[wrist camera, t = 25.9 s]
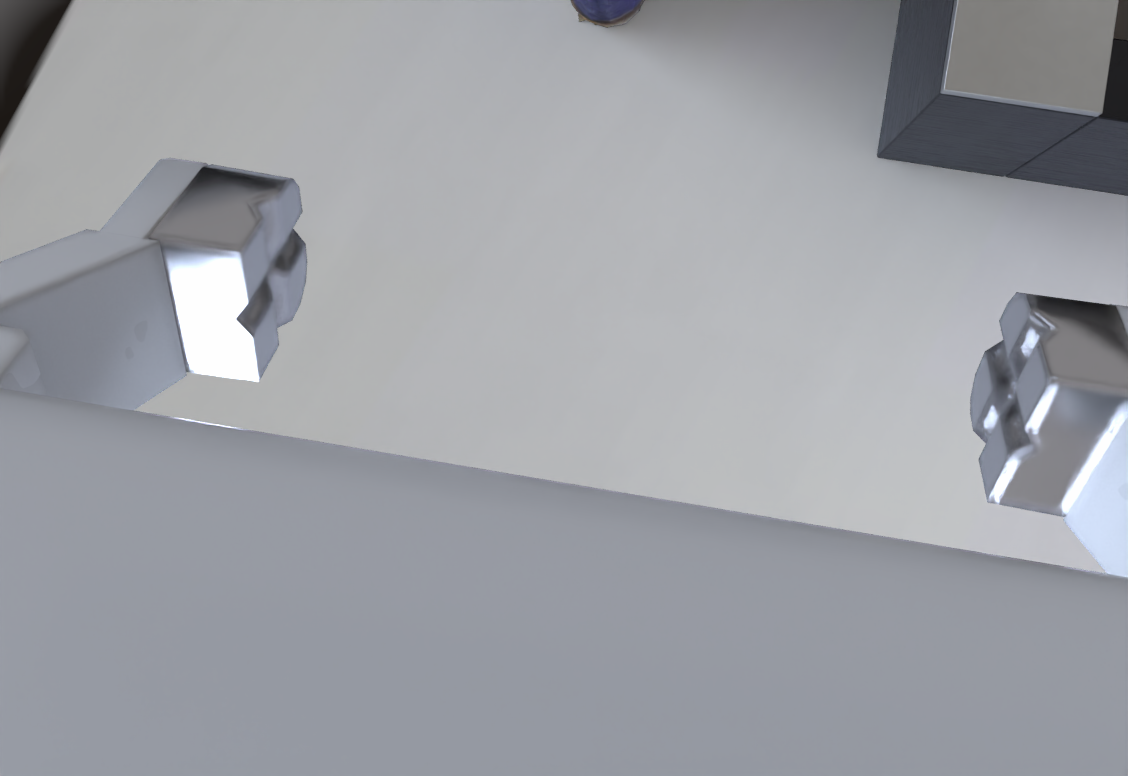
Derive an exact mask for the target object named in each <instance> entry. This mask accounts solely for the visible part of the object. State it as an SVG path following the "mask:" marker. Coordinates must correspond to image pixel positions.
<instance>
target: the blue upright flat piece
mask: <svg viewBox="0 0 1128 776" xmlns="http://www.w3.org/2000/svg"><path fill="white" fill-rule="evenodd" d="M644 1H645V0H571V2H572V4H573V7H574V8H575V9H576V10H577V12H578V16H579V22H581V21H585V20H587V21H589V22H592V23H594V24H595V25H601V26H604V27H607V28H608V27H611V26H615V25H621V24H622V25H623V24H625V23H627V22H628V20H629V19H631V18H632V17H633V16H634V15H635V14H636V13H638V12H639V11H640V7H641V4H642V3H643V2H644Z"/></svg>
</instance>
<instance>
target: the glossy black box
mask: <svg viewBox="0 0 1128 776" xmlns="http://www.w3.org/2000/svg"><path fill="white" fill-rule="evenodd" d="M1118 3H1119V0H901V4H900V11H899V17H898V24H897V30H896V37H895V43H894V50H893V56H892V62H891V69H890V75H889V82H888V88H887V95H886V101H885V108H884V114H883V120H882V127H881V133H880V140H879V146H878V153H877V157H879V158H885V159H892V160H898V161H905V162H911V163H918V164H924V165H931V166H937V167H944V168H950V169H957V170H964V171H970V172H977V173H983V174H990V175H996V176H1006V177H1010V178H1016V179H1023V180H1029V181H1036V182H1042V183H1049V184H1055V185H1062V186H1069V187H1075V188H1082V189H1088V190H1095V191H1101V192H1108V193H1114V194H1121V195H1127V196H1128V41H1127V40H1120V39H1113V38H1114V31H1115V24H1116V17H1117V10H1118Z"/></svg>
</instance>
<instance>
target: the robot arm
mask: <svg viewBox="0 0 1128 776" xmlns="http://www.w3.org/2000/svg"><path fill="white" fill-rule="evenodd" d="M301 214H302V204H301V196H300V189H299V186H298V185H297V183H296V182H295V180H294V179H292V178H287V177H281V176H275V175H270V174H264V173H258V172H253V171H247V170H241V169H236V168H230V167H224V166H219V165H213V164H211V165H208V164H206V163H202V162H195V161H189V160H182V159H175V158H166V159H161V160H159V161H158V162H157V163H156V165H155V166H154V167H153V168H152V169H151V171H150V172H149V173H148V174H147V175H146V177H145V178H144V179H143V180H142V181H141V182H140V184H139V185H138V186H137V187H136V188H135V190H134V191H133V192H132V193H131V194H130V196H129V197H128V198H127V199H126V200H125V202H124V203H123V204H122V205H121V206H120V207H119V209H118V210H117V211H116V212H115V213H114V215H113V216H112V217H111V218H110V219H109V221H108V222H107V223H106V224H105V225H104V227H103V228H102V229H101V230H100V231H94V230H88V229H86V230H84V231H81V232H78V233H76V234H73V235H70V236H68V237H65V238H63V239H60V240H57V241H55V242H52V243H49V244H47V245H44V246H41V247H39V248H36V249H33V250H31V251H28V252H25V253H23V254H20V255H17V256H15V257H12V258H9V259H7V260H4V261H2V262H0V776H1128V306H1120V305H1112V304H1109V305H1106V304H1099V303H1092V302H1084V301H1077V300H1070V299H1062V298H1055V297H1048V296H1040V295H1033V294H1026V293H1019V292H1016V294H1015V295H1014V296H1013V297H1012V299H1011V300H1010V301H1009V302H1008V304H1007V306H1006V308H1005V310H1004V312H1003V314H1002V316H1001V318H1000V320H999V322H1000V327H1001V331H1002V335H1003V341H1001V342H999V343H998V344H996V345H995V346H993V347H991V348H990V349H988V350H987V351H985V353H984V355H983V357H982V360H981V362H980V364H979V367H978V369H977V372H976V374H975V378H974V383H973V388H972V393H971V399H970V415H971V421H972V427H973V431H974V432H975V433H976V434H977V435H978V436H979V437H980V438H981V439H982V440H983V441H984V442H985V443H986V445H985V447H984V449H983V451H982V453H981V455H980V457H979V464H980V468H981V473H982V478H983V483H984V488H985V493H986V498H987V502H988V503H994V504H999V505H1004V506H1009V507H1015V508H1020V509H1025V510H1030V511H1036V512H1041V513H1046V514H1051V515H1057V516H1062V517H1065V518H1064V519H1063V520H1064V522H1065V523H1066V524H1067V525H1068V526H1069V528H1070V529H1071V530H1072V531H1073V533H1074V534H1075V535H1076V536H1077V537H1078V539H1079V540H1080V541H1081V542H1082V543H1083V545H1084V546H1085V547H1086V548H1087V549H1088V551H1089V552H1090V553H1091V554H1092V556H1093V557H1094V558H1095V559H1096V560H1097V562H1098V563H1099V564H1100V565H1101V566H1102V568H1103V569H1104V570H1105V571H1106V573H1107V574H1106V573H1100V572H1094V571H1088V570H1082V569H1076V568H1070V567H1064V566H1058V565H1052V564H1046V563H1040V562H1034V561H1028V560H1022V559H1017V558H1011V557H1005V556H999V555H993V554H987V553H981V552H975V551H969V550H963V549H957V548H951V547H945V546H939V545H933V544H927V543H921V542H915V541H909V540H903V539H897V538H891V537H885V536H879V535H873V534H867V533H861V532H855V531H849V530H843V529H837V528H831V527H825V526H819V525H813V524H807V523H801V522H795V521H789V520H783V519H777V518H771V517H765V516H760V515H754V514H748V513H742V512H736V511H730V510H724V509H718V508H712V507H706V506H700V505H694V504H688V503H682V502H676V501H670V500H664V499H658V498H652V497H646V496H640V495H634V494H628V493H622V492H616V491H610V490H604V489H598V488H592V487H586V486H581V485H575V484H569V483H563V482H557V481H551V480H545V479H539V478H533V477H527V476H521V475H515V474H509V473H503V472H497V471H491V470H485V469H479V468H473V467H467V466H461V465H455V464H449V463H443V462H437V461H431V460H426V459H420V458H414V457H408V456H402V455H396V454H390V453H384V452H378V451H372V450H366V449H360V448H354V447H348V446H342V445H336V444H330V443H324V442H318V441H312V440H306V439H300V438H294V437H288V436H282V435H276V434H270V433H265V432H259V431H253V430H247V429H241V428H235V427H229V426H223V425H217V424H211V423H205V422H199V421H193V420H187V419H181V418H175V417H169V416H163V415H157V414H151V413H145V412H139V411H133V410H135V409H136V408H138V407H139V406H141V405H142V404H144V403H145V402H147V401H148V400H150V399H152V398H153V397H155V396H156V395H158V394H159V393H161V392H162V391H164V390H165V389H167V388H168V387H170V386H171V385H173V384H174V383H176V382H178V381H179V380H181V379H182V378H184V377H185V376H186V375H187V374H186V372H191V373H198V374H205V375H213V376H220V377H227V378H234V379H242V380H249V381H256V382H259V381H260V379H261V377H262V375H263V373H264V372H265V370H266V368H267V366H268V364H269V362H270V361H271V359H272V357H273V355H274V353H275V351H276V350H277V348H278V346H279V340H278V331H277V328H278V327H280V326H282V325H284V324H286V323H288V322H290V321H292V320H293V318H294V316H295V314H296V312H297V310H298V308H299V306H300V303H301V299H302V295H303V291H304V287H305V283H306V272H307V255H306V244H305V243H304V241H303V240H302V239H301V238H300V236H299V235H298V234H297V233H296V231H295V230H294V229H293V227H294V226H295V224H296V222H297V220H298V219H299V217H300V215H301Z"/></svg>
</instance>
